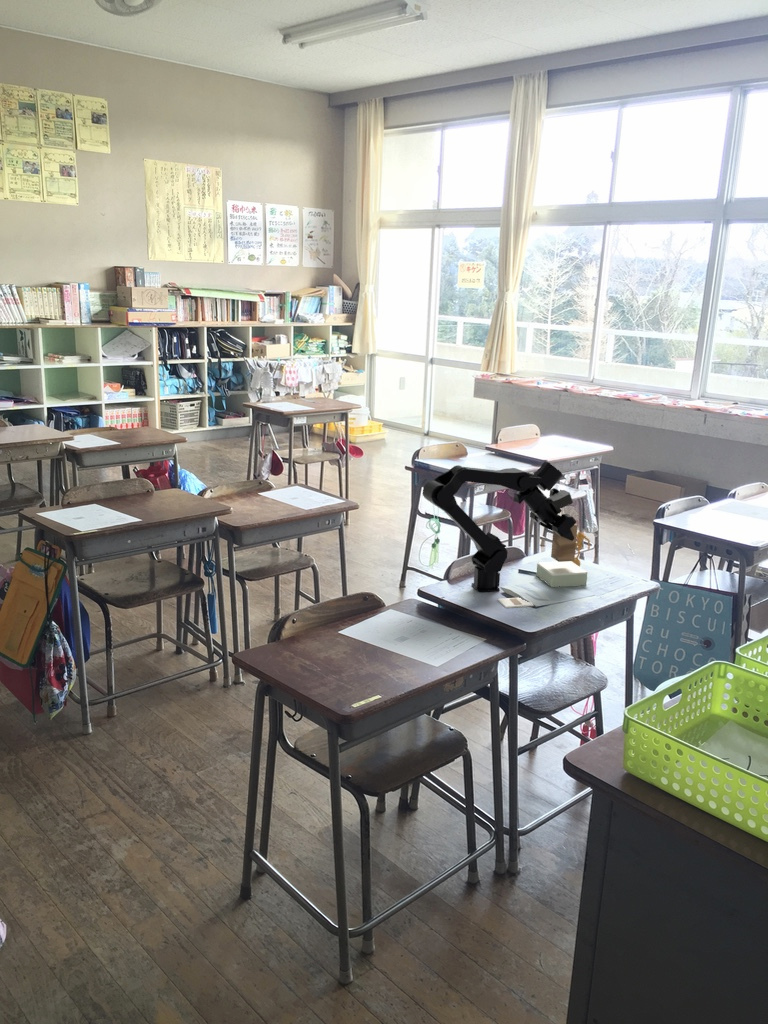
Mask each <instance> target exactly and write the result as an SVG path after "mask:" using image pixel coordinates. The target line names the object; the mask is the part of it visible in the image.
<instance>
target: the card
mask: <svg viewBox="0 0 768 1024" xmlns="http://www.w3.org/2000/svg"><path fill="white" fill-rule="evenodd" d="M497 601H498V602H499V603H500V604H501V605H502V606H503V607H504V608H506V609H509V608H510V609H511V608H512V609H513V608H524V607H534V604H533V603H532V602H531V601H530V602H527V601H525V600H522V599H521V598H519V597H508V598H507V597H506V598H497Z"/></svg>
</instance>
